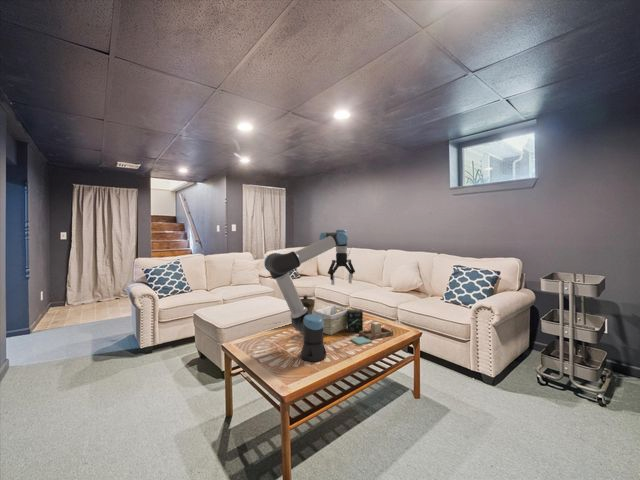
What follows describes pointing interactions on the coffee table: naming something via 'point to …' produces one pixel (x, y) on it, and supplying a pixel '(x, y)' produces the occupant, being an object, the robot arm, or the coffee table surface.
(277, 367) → the coffee table surface
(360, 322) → the tampon box
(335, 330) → the storage basket
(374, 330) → the kraft box
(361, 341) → the teal pad
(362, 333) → the walnut bin
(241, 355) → the coffee table surface
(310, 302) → the wooden container
